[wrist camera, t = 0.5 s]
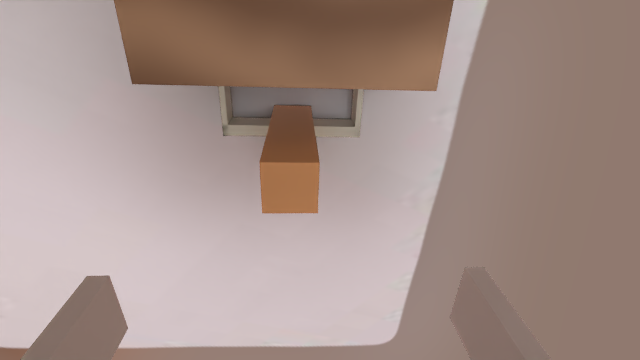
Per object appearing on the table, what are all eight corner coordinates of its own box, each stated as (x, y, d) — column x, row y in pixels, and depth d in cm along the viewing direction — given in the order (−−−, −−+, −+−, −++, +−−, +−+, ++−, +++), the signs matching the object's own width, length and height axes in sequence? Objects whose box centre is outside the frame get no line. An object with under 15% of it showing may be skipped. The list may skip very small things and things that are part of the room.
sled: (205, -121, 23) (105, -268, 11) (375, -109, 24) (454, -234, 12) (229, 139, 32) (189, 213, 20) (354, 140, 33) (386, 212, 21)
